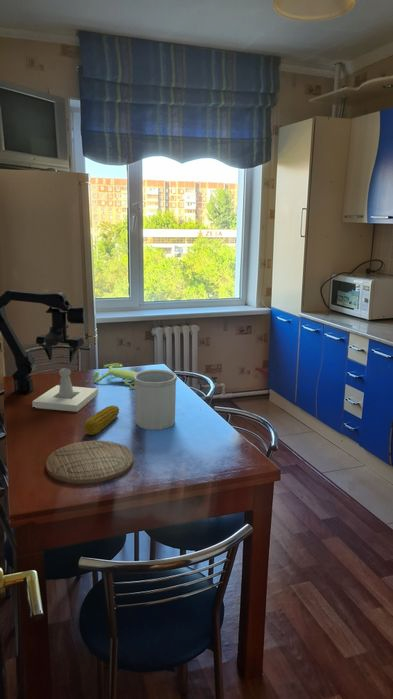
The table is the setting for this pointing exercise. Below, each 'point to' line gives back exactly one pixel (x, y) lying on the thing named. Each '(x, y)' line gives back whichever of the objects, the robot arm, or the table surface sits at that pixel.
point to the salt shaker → (65, 384)
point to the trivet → (89, 462)
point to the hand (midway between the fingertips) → (60, 361)
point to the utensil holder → (155, 399)
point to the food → (100, 420)
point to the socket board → (75, 404)
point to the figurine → (117, 374)
